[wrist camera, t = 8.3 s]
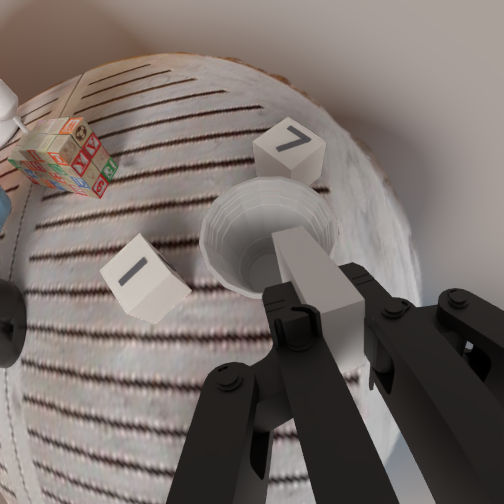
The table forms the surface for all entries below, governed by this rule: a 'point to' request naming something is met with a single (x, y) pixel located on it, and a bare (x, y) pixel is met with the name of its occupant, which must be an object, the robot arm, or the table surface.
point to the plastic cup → (261, 230)
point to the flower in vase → (7, 130)
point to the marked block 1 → (144, 281)
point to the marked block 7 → (289, 152)
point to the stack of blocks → (64, 157)
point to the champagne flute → (9, 106)
